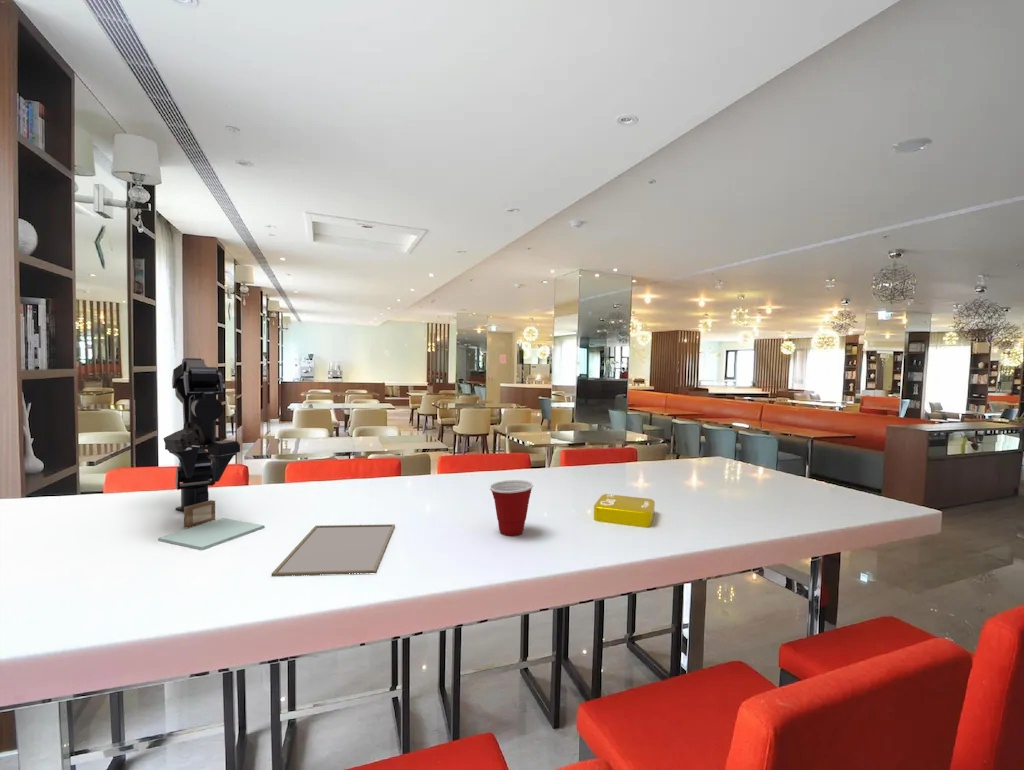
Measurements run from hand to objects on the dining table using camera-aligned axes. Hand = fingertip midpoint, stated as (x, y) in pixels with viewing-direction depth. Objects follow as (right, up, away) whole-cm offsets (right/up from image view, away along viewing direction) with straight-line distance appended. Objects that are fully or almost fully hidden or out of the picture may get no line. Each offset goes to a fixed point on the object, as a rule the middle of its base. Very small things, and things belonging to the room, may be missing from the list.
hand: (202, 479), depth 121 cm
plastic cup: (+77, -13, -2) cm, 78 cm away
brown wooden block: (-1, -11, 0) cm, 11 cm away
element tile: (+108, -13, +13) cm, 110 cm away
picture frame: (+40, -13, -14) cm, 44 cm away
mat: (+7, -11, -7) cm, 15 cm away
